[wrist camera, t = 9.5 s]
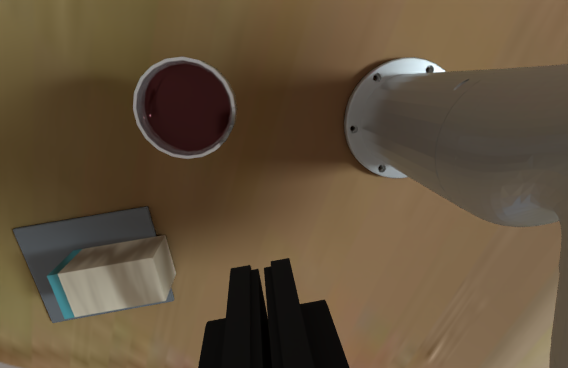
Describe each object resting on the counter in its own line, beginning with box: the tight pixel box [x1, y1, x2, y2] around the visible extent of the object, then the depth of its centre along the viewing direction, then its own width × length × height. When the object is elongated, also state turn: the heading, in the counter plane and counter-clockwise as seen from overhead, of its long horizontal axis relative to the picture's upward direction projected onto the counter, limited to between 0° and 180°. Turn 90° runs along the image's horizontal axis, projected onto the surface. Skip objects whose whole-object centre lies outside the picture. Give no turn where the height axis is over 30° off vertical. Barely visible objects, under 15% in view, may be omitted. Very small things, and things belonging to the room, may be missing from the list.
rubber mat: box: [13, 206, 174, 323], centre depth 37 cm, size 14×12×1 cm
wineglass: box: [133, 57, 237, 159], centre depth 28 cm, size 7×7×12 cm
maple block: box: [47, 235, 176, 319], centre depth 35 cm, size 5×5×10 cm
